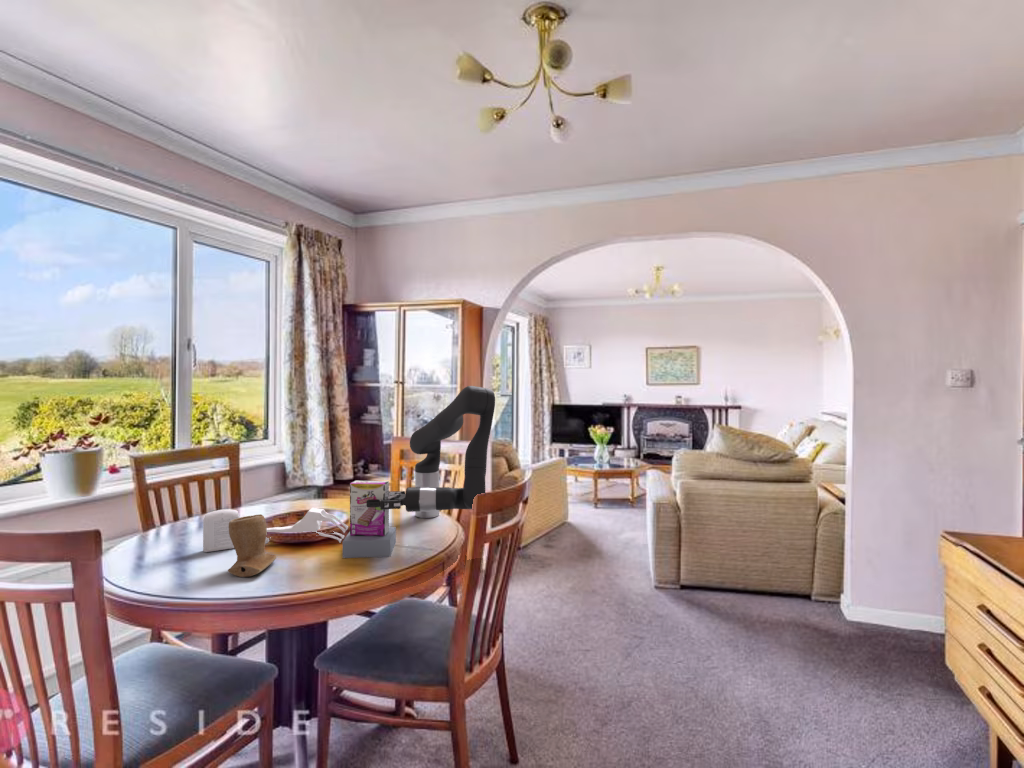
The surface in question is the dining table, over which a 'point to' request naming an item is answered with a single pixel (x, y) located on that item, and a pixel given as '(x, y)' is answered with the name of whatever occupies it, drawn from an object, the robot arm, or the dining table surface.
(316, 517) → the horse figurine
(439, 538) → the dining table surface
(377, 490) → the candy bar box
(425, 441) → the robot arm
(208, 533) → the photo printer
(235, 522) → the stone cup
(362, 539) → the slate block
